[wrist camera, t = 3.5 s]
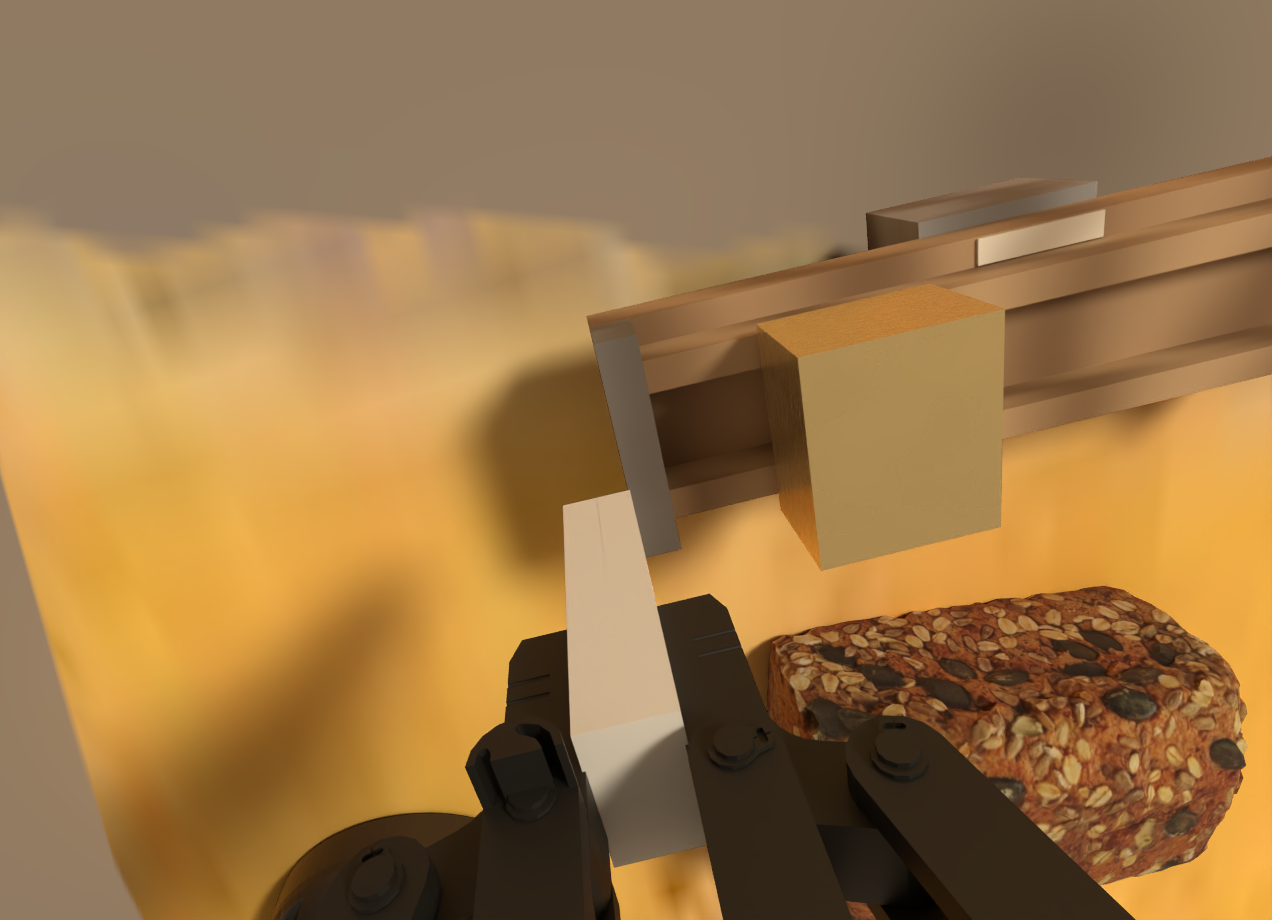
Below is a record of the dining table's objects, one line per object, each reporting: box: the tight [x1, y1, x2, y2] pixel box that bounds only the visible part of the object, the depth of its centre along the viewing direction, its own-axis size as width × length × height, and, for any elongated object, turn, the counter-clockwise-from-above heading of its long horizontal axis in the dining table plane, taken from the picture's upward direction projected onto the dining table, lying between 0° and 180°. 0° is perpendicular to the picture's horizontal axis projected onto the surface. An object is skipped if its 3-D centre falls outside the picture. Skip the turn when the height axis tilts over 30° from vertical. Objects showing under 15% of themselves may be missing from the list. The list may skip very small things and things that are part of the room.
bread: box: [767, 586, 1248, 920], centre depth 31 cm, size 19×11×10 cm, turn 93°
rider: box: [756, 283, 1005, 571], centre depth 20 cm, size 5×6×5 cm
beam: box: [587, 157, 1272, 557], centre depth 24 cm, size 28×8×8 cm, turn 102°
